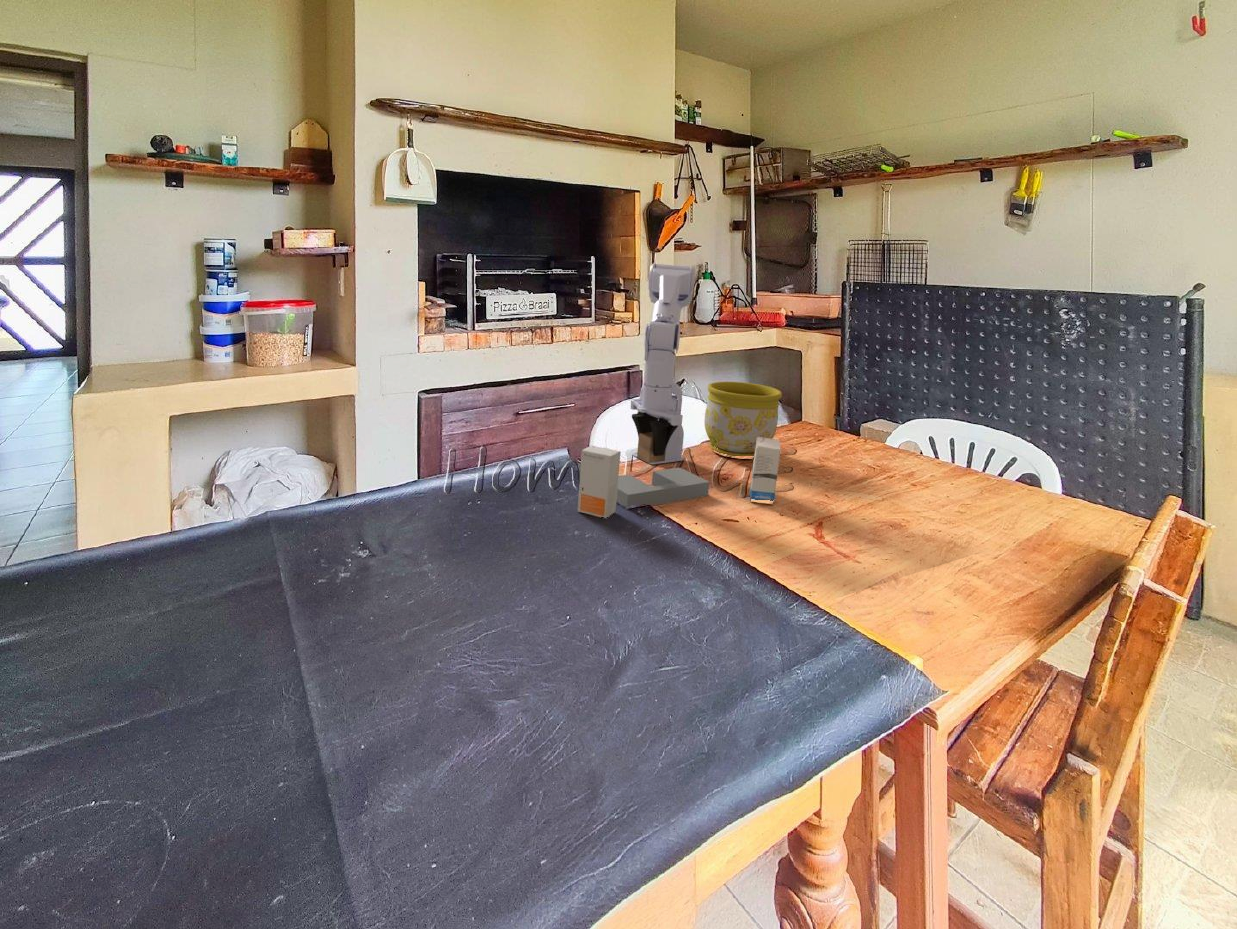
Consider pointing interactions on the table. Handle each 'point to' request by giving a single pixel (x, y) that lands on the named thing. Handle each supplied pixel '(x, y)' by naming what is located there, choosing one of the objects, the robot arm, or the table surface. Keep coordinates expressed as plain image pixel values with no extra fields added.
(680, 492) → the notched board
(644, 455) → the block
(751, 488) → the ink box
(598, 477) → the skincare box
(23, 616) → the table surface
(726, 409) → the flowerpot
